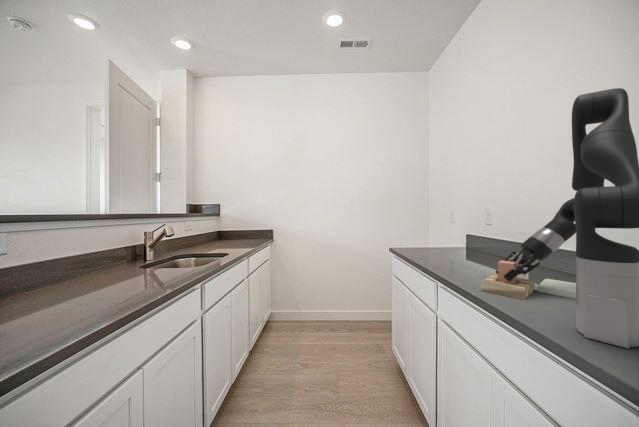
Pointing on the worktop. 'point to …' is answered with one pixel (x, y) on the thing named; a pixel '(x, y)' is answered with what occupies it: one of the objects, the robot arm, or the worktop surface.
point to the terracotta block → (505, 271)
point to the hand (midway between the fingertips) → (501, 276)
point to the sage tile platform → (558, 288)
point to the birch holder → (508, 287)
